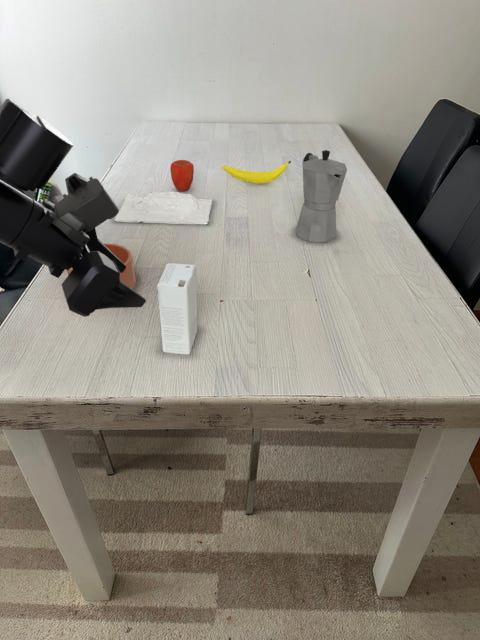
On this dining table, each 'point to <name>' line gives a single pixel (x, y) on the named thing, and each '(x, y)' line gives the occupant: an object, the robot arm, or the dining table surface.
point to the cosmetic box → (178, 308)
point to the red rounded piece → (182, 174)
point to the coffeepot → (320, 197)
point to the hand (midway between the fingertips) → (133, 285)
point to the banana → (256, 174)
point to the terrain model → (165, 209)
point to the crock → (126, 258)
